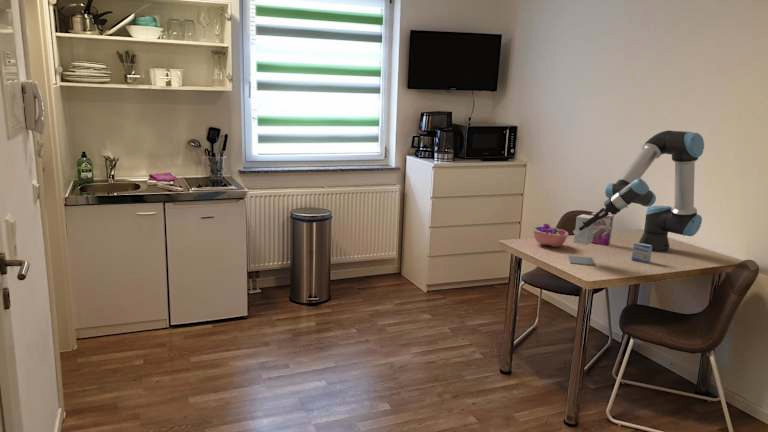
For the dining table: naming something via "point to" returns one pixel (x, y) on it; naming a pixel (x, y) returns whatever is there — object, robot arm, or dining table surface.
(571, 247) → the dining table surface
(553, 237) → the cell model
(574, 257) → the slate coaster
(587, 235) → the small box
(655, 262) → the dining table surface
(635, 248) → the medicine box
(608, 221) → the candy bar box
